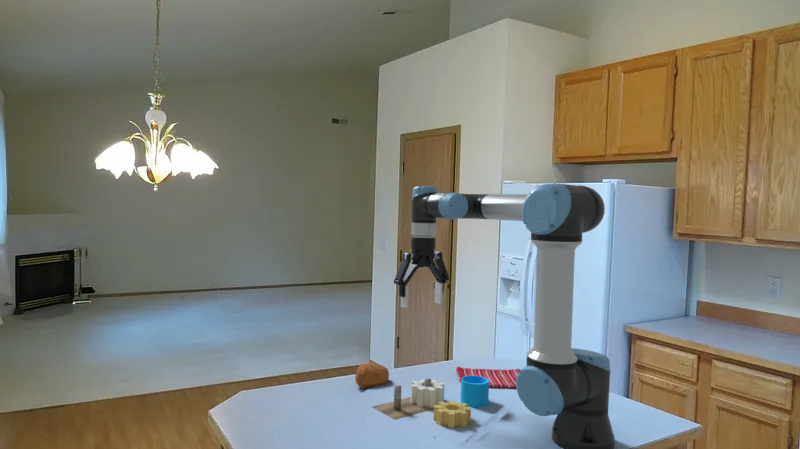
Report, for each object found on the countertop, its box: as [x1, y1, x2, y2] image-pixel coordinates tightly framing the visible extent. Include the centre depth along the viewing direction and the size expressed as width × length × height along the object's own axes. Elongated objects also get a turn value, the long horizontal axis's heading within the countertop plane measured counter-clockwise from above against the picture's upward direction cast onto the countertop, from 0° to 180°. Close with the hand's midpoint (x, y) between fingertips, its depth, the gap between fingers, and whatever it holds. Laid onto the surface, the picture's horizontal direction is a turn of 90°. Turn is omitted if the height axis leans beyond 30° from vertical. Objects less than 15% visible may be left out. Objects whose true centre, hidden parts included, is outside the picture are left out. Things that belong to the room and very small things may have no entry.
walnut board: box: [372, 378, 449, 420], centre depth 158 cm, size 11×21×8 cm, turn 127°
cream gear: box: [410, 378, 445, 408], centre depth 162 cm, size 10×10×5 cm
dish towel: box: [455, 366, 522, 390], centre depth 188 cm, size 17×24×3 cm
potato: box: [354, 362, 390, 389], centre depth 178 cm, size 9×11×8 cm
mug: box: [460, 376, 490, 408], centre depth 164 cm, size 12×8×8 cm
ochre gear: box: [433, 400, 472, 429], centre depth 148 cm, size 10×10×5 cm
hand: (421, 305), depth 170 cm, fingers open, 13 cm apart
